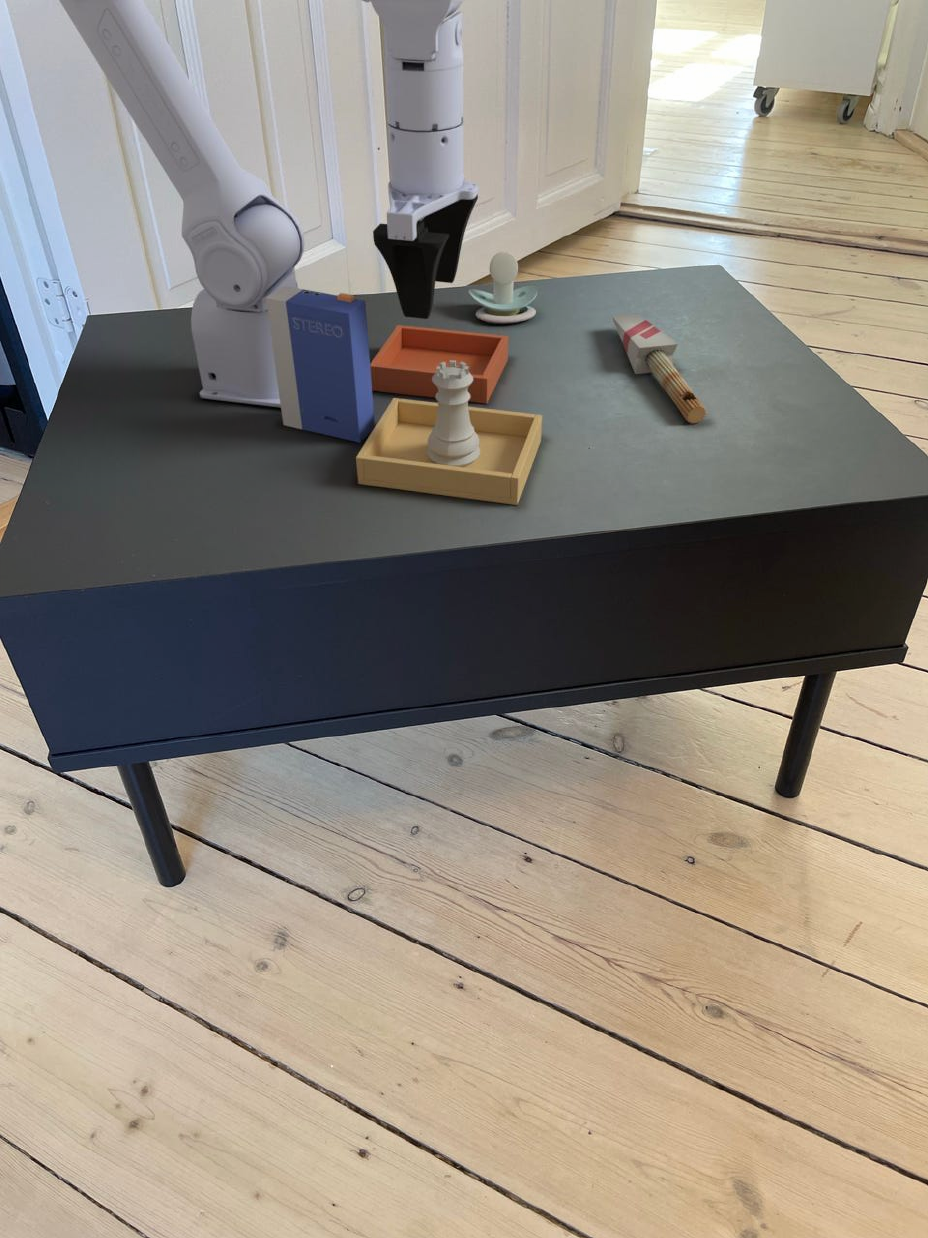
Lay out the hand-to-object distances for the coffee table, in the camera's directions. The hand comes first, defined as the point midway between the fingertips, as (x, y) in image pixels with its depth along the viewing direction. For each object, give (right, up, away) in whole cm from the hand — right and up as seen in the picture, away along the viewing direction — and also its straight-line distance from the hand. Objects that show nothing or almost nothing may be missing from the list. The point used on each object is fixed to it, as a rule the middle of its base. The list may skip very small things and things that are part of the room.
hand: (430, 297), depth 82 cm
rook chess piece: (+2, -14, -1) cm, 14 cm away
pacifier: (+7, +5, +22) cm, 24 cm away
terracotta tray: (+1, -4, +11) cm, 12 cm away
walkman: (-9, -10, +4) cm, 14 cm away
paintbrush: (+21, -4, +11) cm, 24 cm away
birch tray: (+2, -14, -1) cm, 14 cm away
